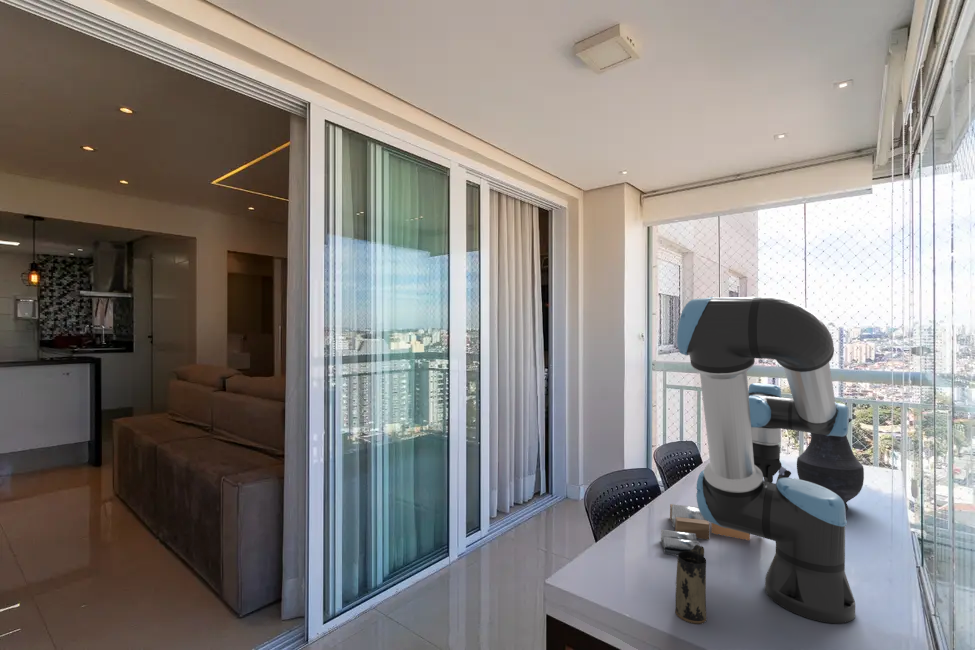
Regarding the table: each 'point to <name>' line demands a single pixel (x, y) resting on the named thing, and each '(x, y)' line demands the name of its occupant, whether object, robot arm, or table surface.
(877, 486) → the table surface
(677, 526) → the cardboard box
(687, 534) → the v block
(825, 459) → the pitcher
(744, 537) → the orange brown block
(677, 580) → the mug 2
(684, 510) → the silver metal cylinder
